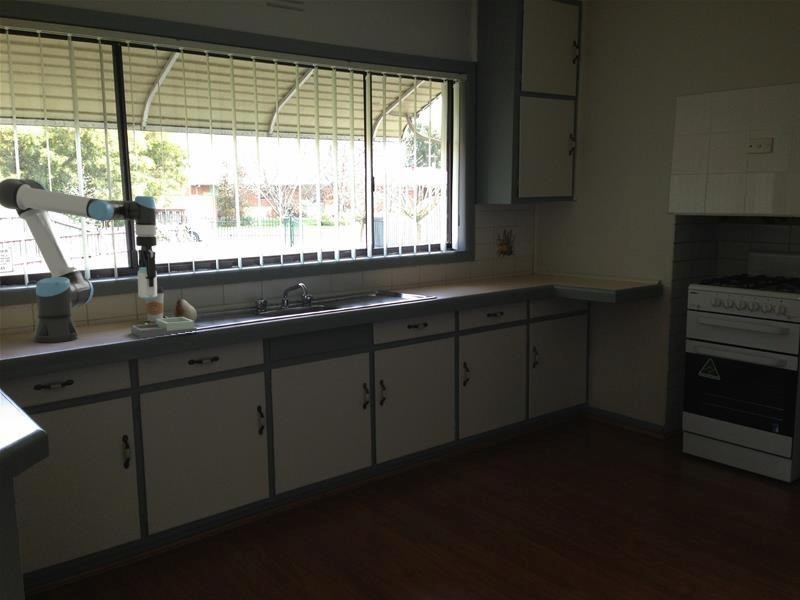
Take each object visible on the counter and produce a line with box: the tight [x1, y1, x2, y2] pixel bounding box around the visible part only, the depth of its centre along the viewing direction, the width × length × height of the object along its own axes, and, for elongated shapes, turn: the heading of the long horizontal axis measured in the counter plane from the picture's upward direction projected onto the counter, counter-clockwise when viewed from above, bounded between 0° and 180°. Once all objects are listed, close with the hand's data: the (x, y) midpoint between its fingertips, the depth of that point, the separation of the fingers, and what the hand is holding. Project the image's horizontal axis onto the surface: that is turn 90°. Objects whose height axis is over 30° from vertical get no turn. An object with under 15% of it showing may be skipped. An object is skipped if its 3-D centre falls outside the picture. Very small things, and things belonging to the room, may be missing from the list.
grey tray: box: [130, 317, 198, 339], centre depth 284 cm, size 22×14×5 cm, turn 126°
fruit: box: [173, 297, 198, 322], centre depth 304 cm, size 10×9×12 cm
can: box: [137, 267, 158, 300], centre depth 279 cm, size 7×7×12 cm
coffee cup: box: [145, 286, 165, 323], centre depth 315 cm, size 8×8×15 cm
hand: (147, 293), depth 279 cm, fingers closed on can, 7 cm apart
